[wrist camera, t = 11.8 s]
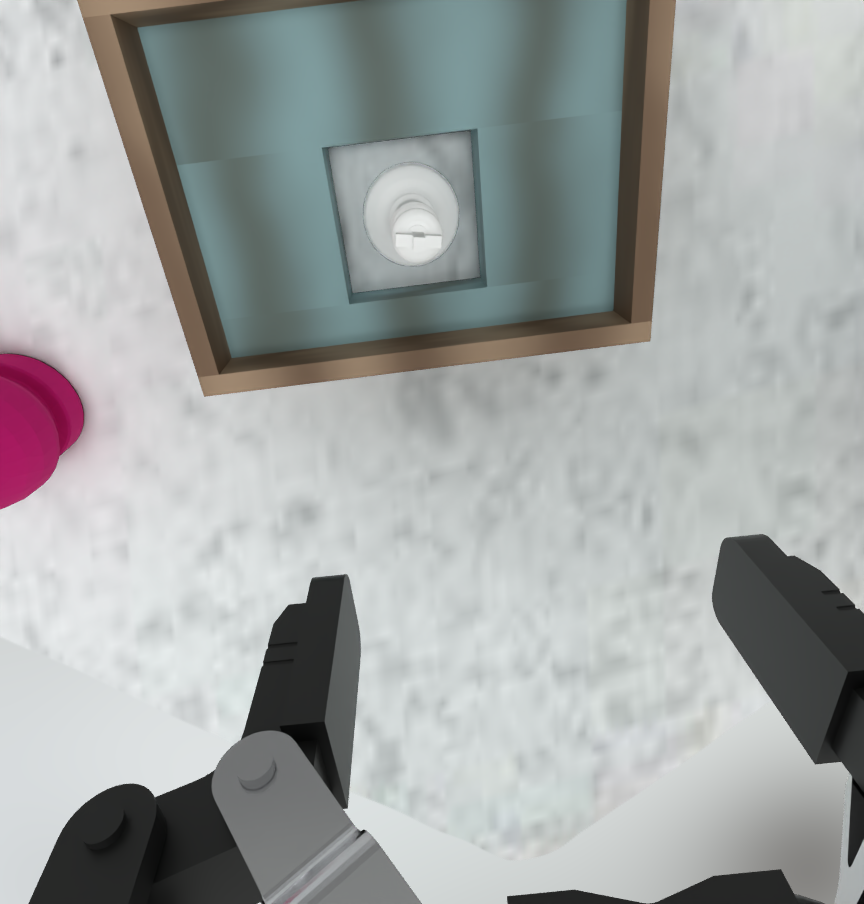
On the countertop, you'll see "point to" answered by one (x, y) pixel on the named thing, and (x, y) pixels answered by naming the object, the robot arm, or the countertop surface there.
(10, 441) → the pepper mill
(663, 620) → the countertop surface
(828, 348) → the countertop surface
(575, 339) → the box
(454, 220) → the chess piece
